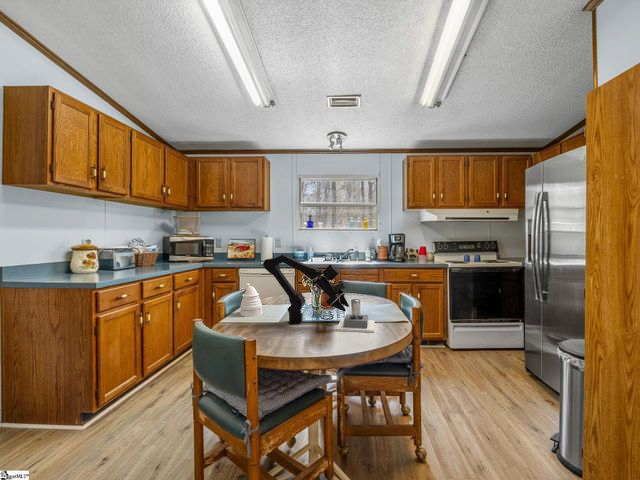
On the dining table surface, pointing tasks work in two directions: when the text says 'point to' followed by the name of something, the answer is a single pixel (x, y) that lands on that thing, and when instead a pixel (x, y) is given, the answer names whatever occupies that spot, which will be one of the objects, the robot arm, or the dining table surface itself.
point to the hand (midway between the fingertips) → (347, 308)
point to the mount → (356, 324)
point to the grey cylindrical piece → (355, 309)
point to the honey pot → (250, 303)
